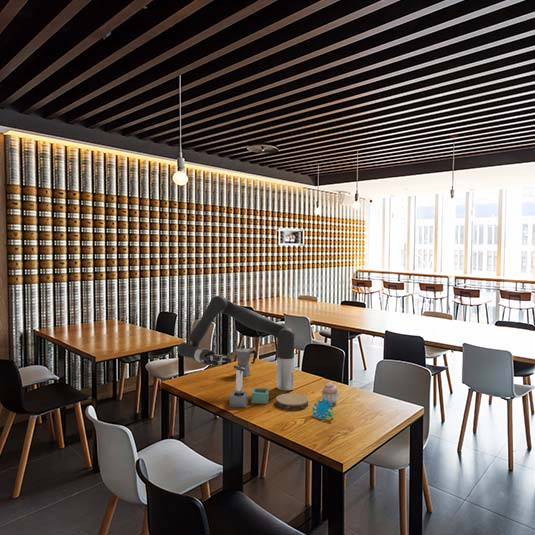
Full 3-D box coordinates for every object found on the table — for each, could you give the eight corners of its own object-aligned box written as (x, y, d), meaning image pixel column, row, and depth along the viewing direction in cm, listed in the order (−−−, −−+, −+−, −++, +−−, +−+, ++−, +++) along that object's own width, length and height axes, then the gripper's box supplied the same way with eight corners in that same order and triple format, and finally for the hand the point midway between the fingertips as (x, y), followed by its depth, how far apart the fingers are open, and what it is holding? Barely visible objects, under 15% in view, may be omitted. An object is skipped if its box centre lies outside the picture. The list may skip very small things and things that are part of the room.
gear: (307, 411, 189) (320, 394, 193) (312, 418, 193) (325, 401, 196) (324, 423, 181) (337, 404, 184) (329, 429, 184) (342, 411, 187)
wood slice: (276, 410, 195) (276, 404, 195) (275, 398, 211) (275, 393, 211) (309, 411, 195) (309, 405, 195) (306, 399, 211) (306, 393, 211)
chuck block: (247, 401, 205) (248, 391, 205) (245, 407, 197) (246, 397, 197) (231, 400, 206) (232, 391, 206) (229, 406, 198) (229, 396, 198)
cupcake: (339, 399, 211) (340, 380, 211) (338, 405, 202) (338, 385, 202) (321, 397, 214) (322, 378, 213) (319, 403, 205) (319, 383, 204)
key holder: (268, 398, 211) (268, 388, 211) (267, 403, 203) (267, 393, 203) (253, 397, 212) (253, 387, 211) (251, 402, 204) (251, 392, 203)
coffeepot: (230, 375, 249) (230, 345, 249) (236, 371, 258) (237, 342, 258) (253, 378, 244) (254, 348, 243) (259, 374, 253) (260, 345, 252)
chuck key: (230, 402, 203) (231, 365, 202) (235, 401, 205) (236, 364, 205) (241, 407, 198) (242, 369, 197) (246, 405, 200) (247, 368, 199)
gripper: (193, 351, 215) (213, 357, 203) (215, 347, 225) (235, 352, 214) (193, 365, 215) (213, 372, 204) (214, 360, 225) (234, 367, 214)
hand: (224, 362), depth 209 cm, fingers open, 8 cm apart
